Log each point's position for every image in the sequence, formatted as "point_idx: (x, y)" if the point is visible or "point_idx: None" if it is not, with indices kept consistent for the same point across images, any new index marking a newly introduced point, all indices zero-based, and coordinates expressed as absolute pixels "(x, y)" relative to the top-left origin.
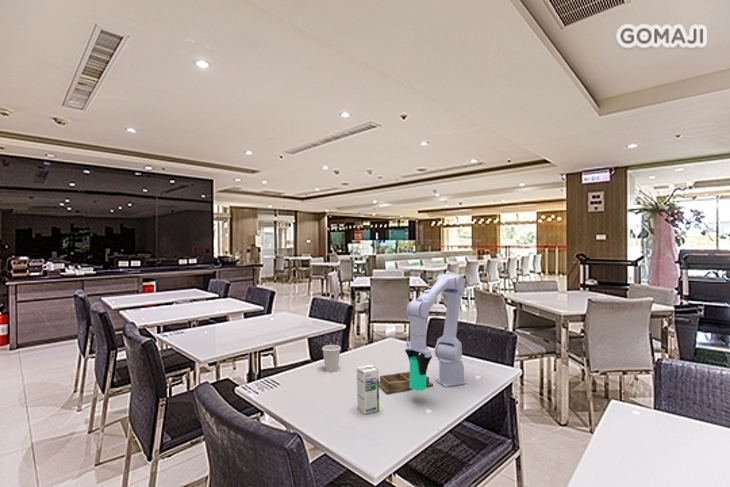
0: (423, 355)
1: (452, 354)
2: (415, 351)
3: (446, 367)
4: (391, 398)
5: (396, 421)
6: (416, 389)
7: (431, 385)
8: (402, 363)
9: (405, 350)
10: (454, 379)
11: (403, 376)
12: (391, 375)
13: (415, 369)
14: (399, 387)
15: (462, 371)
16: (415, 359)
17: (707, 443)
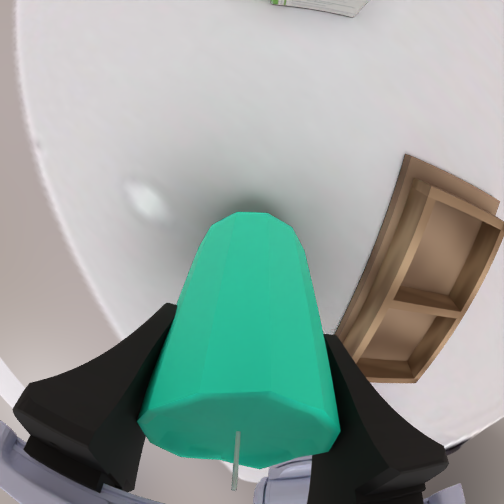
0: (31, 449)
1: (265, 501)
2: (329, 496)
3: None
4: (358, 139)
5: (143, 25)
6: (213, 226)
7: None
8: (488, 371)
9: (440, 459)
10: None
11: (433, 309)
12: (479, 274)
13: (192, 311)
14: (397, 235)
15: None
16: (255, 421)
17: (9, 402)
